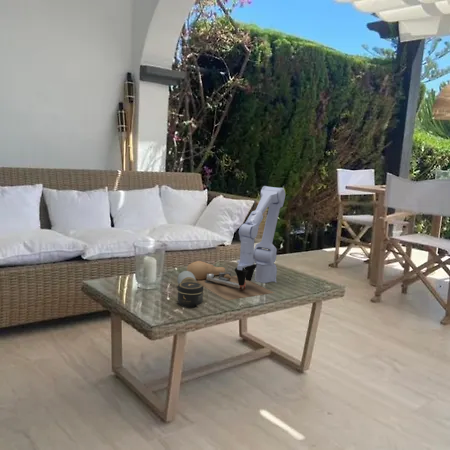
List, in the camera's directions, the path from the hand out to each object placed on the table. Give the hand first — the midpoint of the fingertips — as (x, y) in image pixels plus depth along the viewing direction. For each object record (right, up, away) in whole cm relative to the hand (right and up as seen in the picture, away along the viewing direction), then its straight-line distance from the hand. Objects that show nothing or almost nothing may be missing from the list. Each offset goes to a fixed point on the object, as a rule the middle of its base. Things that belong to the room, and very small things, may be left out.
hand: (245, 282), depth 211 cm
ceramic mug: (-24, -3, -2) cm, 24 cm away
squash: (-18, 0, +17) cm, 24 cm away
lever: (-8, -1, +3) cm, 9 cm away
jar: (-22, -6, -19) cm, 30 cm away
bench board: (-5, -3, +2) cm, 6 cm away
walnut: (-8, 0, +10) cm, 13 cm away
